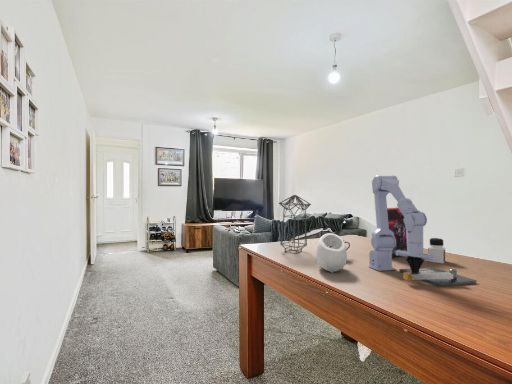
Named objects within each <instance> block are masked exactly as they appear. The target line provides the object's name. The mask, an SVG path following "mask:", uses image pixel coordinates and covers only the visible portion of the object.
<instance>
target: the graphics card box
mask: <svg viewBox="0 0 512 384" xmlns="http://www.w3.org/2000/svg"><path fill="white" fill-rule="evenodd" d="M387 213H388V225H389V229H390V230H391V231H392V232H393V233H394V237H395V240H396V246H395V248H393V250H392V258H394V257H399V256H400V255H399V256H397V255H396V251H397V250H401V251H407V230H406V226H405V224H404V216H403V214H402V213H401V211H400V210H399V208H398V207H397V206H396V207H387ZM380 236H387V235H380Z"/></svg>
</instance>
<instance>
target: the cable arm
mask: <svg viewBox="0 0 512 384" xmlns="http://www.w3.org/2000/svg"><path fill="white" fill-rule="evenodd" d="M448 270H449V271H447V272H428V273H409V272H403V273H402V275H403V277H402V278H403V279H404V280H405V281H409V282H410V281H415V280H417V281H418V280H419V281H422V280H425V279H450V280H453V281H457V275H458V274H457V273H458V272H457V269H455V268H449V269H448Z"/></svg>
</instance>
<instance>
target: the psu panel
mask: <svg viewBox="0 0 512 384" xmlns="http://www.w3.org/2000/svg"><path fill="white" fill-rule="evenodd" d="M403 272H409V273H412V271H411V268H400V269H399V271H398V273H401V274H403ZM428 272H448V271H446V270H444V269H441V268H437V267H434V266H429V267H427V266H426V267H420V269H419V273H428ZM421 281H422V282H423V283H427V284H429V285H432V286H435V287H438V288H440V287H441V288H443V287H451V286H461V285H462V286H464V285H474V284H477V280H476V279H473V278H470V277H466V276H463V275H460V274H457V281H453V280H450V279H425V280H421Z"/></svg>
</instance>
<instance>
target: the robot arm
mask: <svg viewBox="0 0 512 384" xmlns="http://www.w3.org/2000/svg"><path fill="white" fill-rule="evenodd" d="M371 188H372V189H371V190H372V194H373V198H374V209H375V222H376V229H375V230H373V232H371V239H370V245H371V246H372V248H373V250H370V252H369V265H368V267H369V268H371V269H372V270H376V271H380V272H381V271H396V270H397V268H395V267H393V257H392V250H393V248H395V246H396V240H395V237H394V233H393V232H392V231H391V230H390V229H389V225H388V213H387V208H388V206H387V205H388V203H387V195H388V194H391V195H392V197H393V198H394V199H395V200H396V202H397V203H396V207H397V208H399V210H400V211H401V213H402V214H403V216H404V224H405V226H406V230H407V251H401V250H397V251H396V255H397V256H396V257H399V255H400V256H401V257H406V262H407V264H408V266H409V267H410V268H409V269H411V271H412V273H419V269H420V268H422V267H421V266H422V265H423V263H424V261H428V260H430V261H433V262H432V263H435V261H436V256H433V255H429V254H428V253H425V252H424V227H425V226H426V224H427V223H428V220H427V216H426V213H425V212H423V211H420V210H419V209H417V207H416V206H415V204H414V202H413V201H412V199H411V198H407V197H406V196H405V194H404V192H403V191H402V189H401V187H400V180H399V179H398V177H397V176H396V175H375V176H374V177H373V179H372V180H371ZM380 235H387V236H380Z"/></svg>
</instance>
